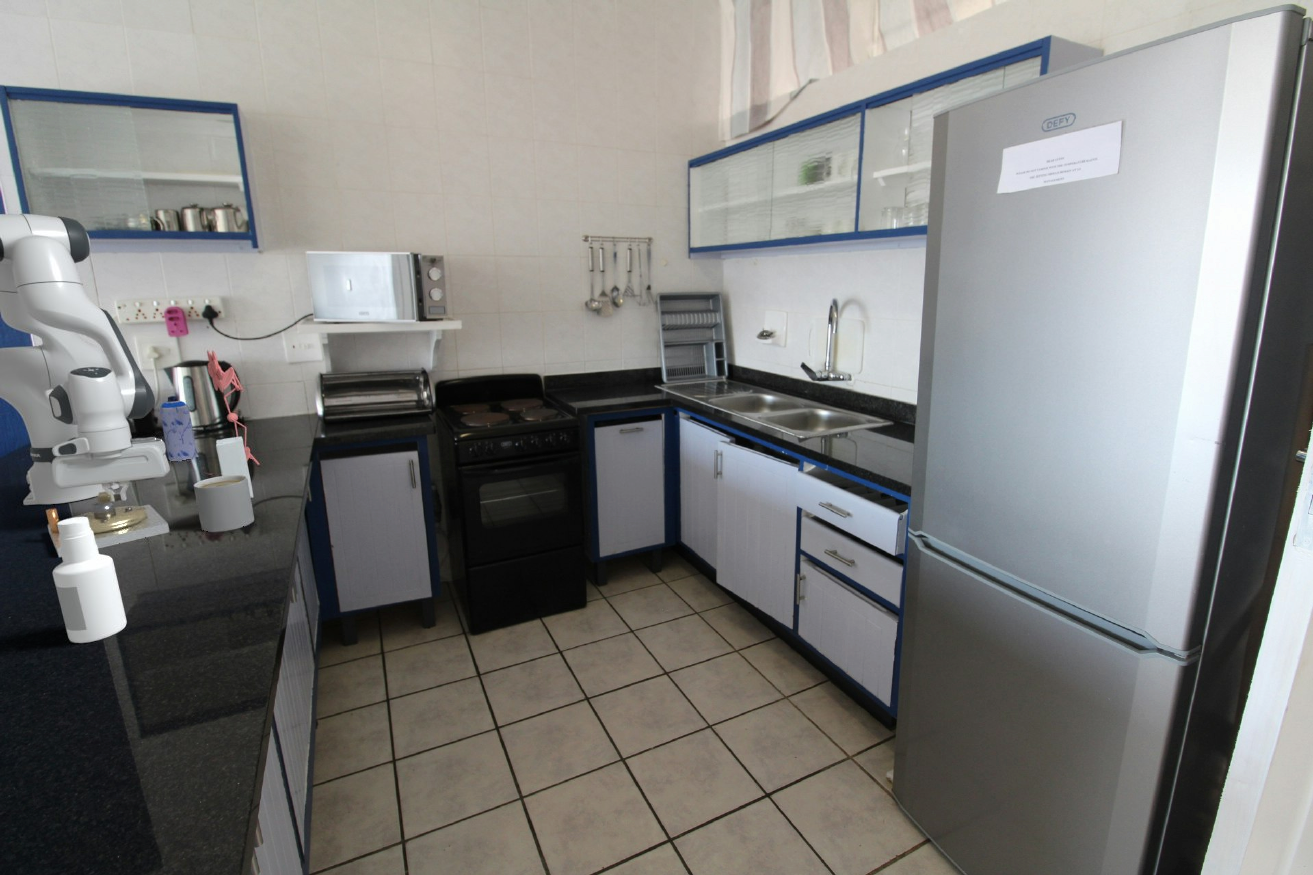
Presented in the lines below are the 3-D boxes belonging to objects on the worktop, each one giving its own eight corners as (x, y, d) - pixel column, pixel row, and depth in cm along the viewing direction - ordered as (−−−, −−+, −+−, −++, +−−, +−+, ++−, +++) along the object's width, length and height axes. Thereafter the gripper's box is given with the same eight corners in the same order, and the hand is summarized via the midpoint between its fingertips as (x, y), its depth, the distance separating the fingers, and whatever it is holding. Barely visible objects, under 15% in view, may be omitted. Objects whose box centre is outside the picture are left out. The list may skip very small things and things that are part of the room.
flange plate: (147, 524, 140) (142, 501, 139) (60, 539, 132) (54, 516, 131) (147, 506, 152) (143, 485, 151) (68, 519, 144) (63, 498, 143)
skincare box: (253, 497, 165) (244, 440, 161) (225, 502, 161) (215, 444, 158) (252, 490, 171) (243, 435, 168) (225, 494, 168) (215, 438, 165)
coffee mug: (255, 525, 145) (248, 482, 142) (202, 535, 139) (193, 490, 137) (251, 509, 155) (244, 469, 153) (201, 518, 150) (193, 476, 148)
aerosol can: (203, 457, 209) (191, 395, 204) (175, 462, 202) (162, 399, 198) (191, 454, 213) (180, 394, 208) (164, 459, 206) (151, 397, 202)
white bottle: (92, 622, 102) (66, 513, 98) (137, 619, 103) (114, 511, 99) (56, 645, 96) (27, 530, 92) (106, 642, 96) (79, 527, 92)
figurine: (249, 454, 211) (228, 345, 202) (269, 469, 192) (246, 350, 184) (193, 464, 201) (168, 350, 192) (207, 481, 182) (180, 356, 174)
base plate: (49, 533, 142) (42, 503, 141) (151, 512, 155) (145, 484, 153) (59, 557, 129) (51, 523, 127) (169, 532, 142) (163, 501, 140)
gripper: (166, 433, 151) (178, 490, 154) (54, 443, 143) (68, 503, 146) (159, 438, 145) (171, 497, 148) (42, 449, 137) (57, 512, 140)
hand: (119, 500), depth 147 cm, fingers closed
